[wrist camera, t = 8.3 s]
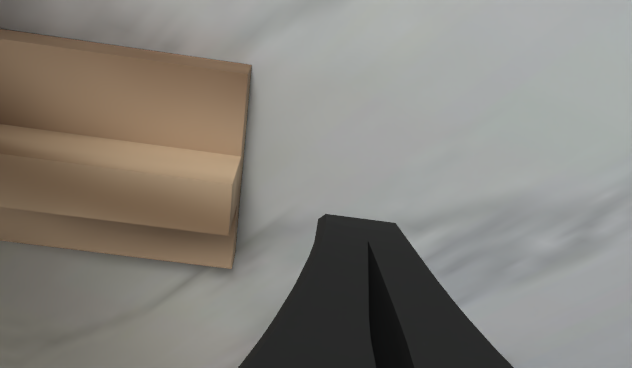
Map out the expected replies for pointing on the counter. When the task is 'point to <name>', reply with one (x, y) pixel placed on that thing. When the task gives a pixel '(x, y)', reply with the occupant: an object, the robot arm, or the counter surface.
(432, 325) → the robot arm
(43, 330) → the counter surface
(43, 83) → the rail board
